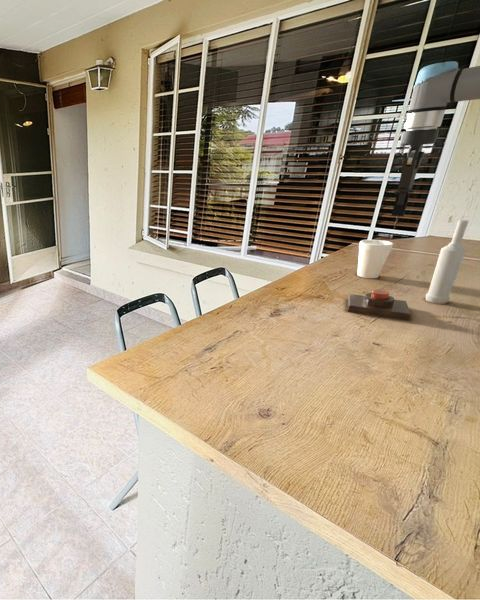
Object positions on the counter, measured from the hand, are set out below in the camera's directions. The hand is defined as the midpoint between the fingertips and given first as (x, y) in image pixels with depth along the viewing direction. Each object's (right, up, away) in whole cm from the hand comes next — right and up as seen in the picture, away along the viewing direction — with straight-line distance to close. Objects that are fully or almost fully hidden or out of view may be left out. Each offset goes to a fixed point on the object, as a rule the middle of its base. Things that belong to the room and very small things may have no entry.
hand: (397, 215), depth 105 cm
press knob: (-6, -25, 0) cm, 26 cm away
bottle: (+16, -26, +4) cm, 31 cm away
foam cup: (+14, -17, +28) cm, 36 cm away
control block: (-6, -29, +1) cm, 29 cm away
